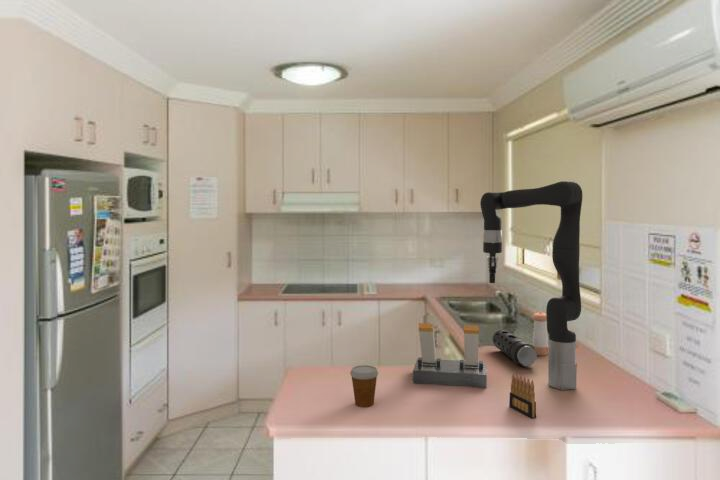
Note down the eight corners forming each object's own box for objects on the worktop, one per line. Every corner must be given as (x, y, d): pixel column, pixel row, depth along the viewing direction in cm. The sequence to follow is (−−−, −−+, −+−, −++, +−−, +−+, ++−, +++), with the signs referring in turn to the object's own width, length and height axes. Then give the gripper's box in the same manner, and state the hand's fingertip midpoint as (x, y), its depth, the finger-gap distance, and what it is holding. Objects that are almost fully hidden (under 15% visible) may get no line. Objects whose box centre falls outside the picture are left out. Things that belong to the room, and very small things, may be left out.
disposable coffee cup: (349, 399, 179) (349, 365, 178) (377, 398, 179) (376, 364, 179) (351, 409, 169) (350, 373, 169) (379, 408, 170) (379, 373, 169)
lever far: (422, 360, 202) (418, 323, 186) (436, 361, 201) (433, 323, 185) (422, 365, 201) (418, 327, 185) (435, 366, 200) (432, 328, 184)
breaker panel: (417, 370, 210) (417, 352, 209) (485, 374, 204) (485, 356, 204) (412, 383, 194) (412, 364, 194) (486, 388, 188) (486, 368, 188)
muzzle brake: (511, 350, 238) (511, 328, 237) (538, 369, 210) (538, 344, 210) (491, 351, 237) (491, 329, 236) (516, 370, 209) (516, 345, 209)
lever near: (464, 363, 199) (463, 325, 183) (478, 363, 198) (478, 325, 182) (464, 367, 197) (463, 330, 181) (478, 368, 196) (478, 330, 180)
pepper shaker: (528, 352, 235) (528, 310, 233) (539, 350, 238) (540, 309, 237) (540, 356, 228) (541, 313, 227) (552, 354, 231) (552, 312, 230)
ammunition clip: (536, 418, 162) (536, 380, 161) (531, 419, 161) (532, 381, 160) (513, 406, 172) (513, 370, 171) (509, 407, 171) (509, 371, 170)
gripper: (482, 240, 219) (482, 280, 220) (483, 242, 206) (483, 285, 207) (501, 240, 217) (500, 280, 218) (502, 242, 204) (502, 285, 205)
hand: (492, 282), depth 213 cm, fingers closed
